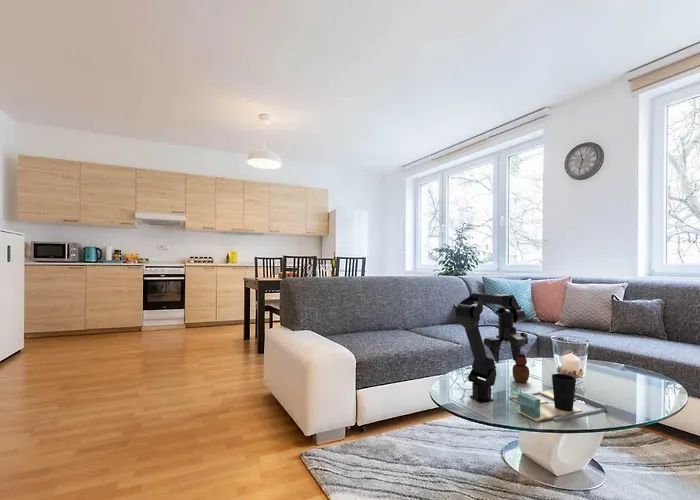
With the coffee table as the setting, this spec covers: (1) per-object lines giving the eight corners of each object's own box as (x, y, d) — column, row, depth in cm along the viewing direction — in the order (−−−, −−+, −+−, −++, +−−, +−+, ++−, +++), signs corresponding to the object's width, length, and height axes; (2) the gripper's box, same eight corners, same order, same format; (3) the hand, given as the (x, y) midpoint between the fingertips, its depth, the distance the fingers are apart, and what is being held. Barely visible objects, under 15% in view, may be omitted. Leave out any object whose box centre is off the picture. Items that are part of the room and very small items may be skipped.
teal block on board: (536, 421, 124) (536, 401, 124) (517, 411, 132) (517, 393, 132) (582, 411, 132) (582, 393, 132) (561, 403, 139) (561, 385, 139)
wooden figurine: (510, 381, 165) (510, 347, 165) (515, 378, 169) (515, 345, 169) (526, 385, 160) (526, 350, 160) (531, 382, 164) (531, 348, 164)
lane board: (555, 421, 125) (555, 415, 125) (509, 398, 145) (509, 393, 145) (606, 410, 134) (606, 405, 134) (556, 390, 154) (556, 385, 154)
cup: (579, 415, 129) (579, 381, 129) (555, 413, 131) (555, 379, 131) (571, 407, 137) (571, 374, 137) (548, 404, 138) (548, 372, 138)
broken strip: (531, 406, 137) (531, 400, 137) (514, 398, 144) (514, 392, 144) (574, 398, 144) (574, 392, 144) (555, 391, 152) (555, 385, 152)
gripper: (502, 329, 143) (502, 369, 143) (538, 326, 150) (538, 364, 150) (482, 324, 154) (482, 361, 154) (517, 321, 160) (517, 357, 160)
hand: (505, 361), depth 154 cm, fingers open, 9 cm apart
